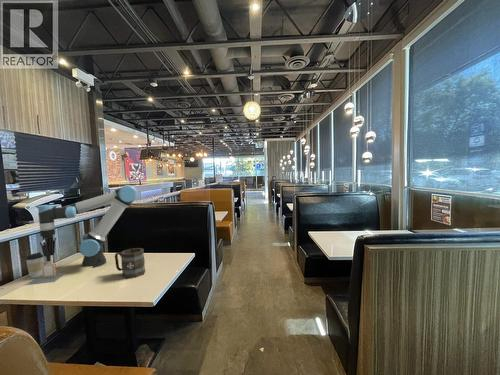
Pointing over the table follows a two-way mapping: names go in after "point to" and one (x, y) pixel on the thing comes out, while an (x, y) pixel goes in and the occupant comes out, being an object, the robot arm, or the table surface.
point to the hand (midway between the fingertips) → (50, 265)
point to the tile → (49, 270)
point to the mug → (131, 262)
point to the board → (45, 279)
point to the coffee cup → (35, 264)
